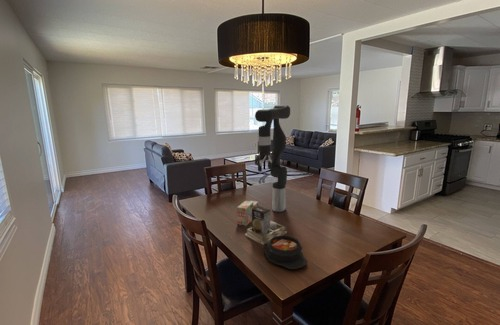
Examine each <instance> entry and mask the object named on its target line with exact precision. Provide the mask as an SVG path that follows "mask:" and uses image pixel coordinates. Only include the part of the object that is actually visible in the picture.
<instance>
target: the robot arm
mask: <svg viewBox="0 0 500 325" xmlns="http://www.w3.org/2000/svg"><path fill="white" fill-rule="evenodd" d="M290 116H291V107H290V106H289V105H287V104H276V105H275V104H274V106H273V107H271V108H267V109H257V110H256V112H255V114H254V119H255V120H256V121H257V122H259V123H265V124H263V125H261V126H259V127H258V137H257V138H258V140H257V141H258V142H257V144H258V148H257V149H258V152H259V153H258V154H255V156H254V158H255V159H254V165H255V166H257V171H258V172H259V173H262V171H263V170H262V168H263V166H262V165H263V163H264V162H266V161H267V169H268V170H270V175H271V177H273V178H276V179H277V181H275V182H272V195H271V196H272V198H271V199H272V200H271V201H272V202H271V204H272V205H271V206H272V207H271V209H272V211H274V212H277V213H278V212H280V213H281V212H284V211H285V210H286V209H287V207H286V206H287V201H286V200H287V197H286V185H287V180H288V168H287V167H286V166H285V165H280V159H281V156H282V155H283V153H284V151H285V150H286V144H287V137H286V134H285V132H284V130H283V128H282V127H281V123H280V119H282V120H286V119H288V118H289V117H290ZM272 124H273V130H272V131H273V134H272V138H271V128H272Z"/></svg>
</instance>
